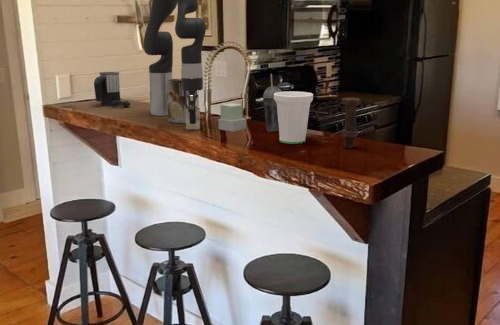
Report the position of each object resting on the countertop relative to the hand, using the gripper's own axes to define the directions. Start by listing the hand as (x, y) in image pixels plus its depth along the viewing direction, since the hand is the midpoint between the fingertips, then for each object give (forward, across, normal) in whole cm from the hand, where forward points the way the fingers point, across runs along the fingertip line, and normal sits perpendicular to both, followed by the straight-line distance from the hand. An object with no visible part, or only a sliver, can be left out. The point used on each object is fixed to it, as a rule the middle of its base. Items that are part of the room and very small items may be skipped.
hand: (193, 121), depth 191 cm
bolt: (+3, +32, +49) cm, 59 cm away
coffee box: (+2, -13, -5) cm, 14 cm away
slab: (+3, +2, +14) cm, 14 cm away
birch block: (+2, 0, 0) cm, 2 cm away
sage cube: (-1, +2, +14) cm, 14 cm away
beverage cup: (+3, +6, +28) cm, 29 cm away
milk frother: (+2, -53, -38) cm, 65 cm away
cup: (+3, +23, +33) cm, 40 cm away
